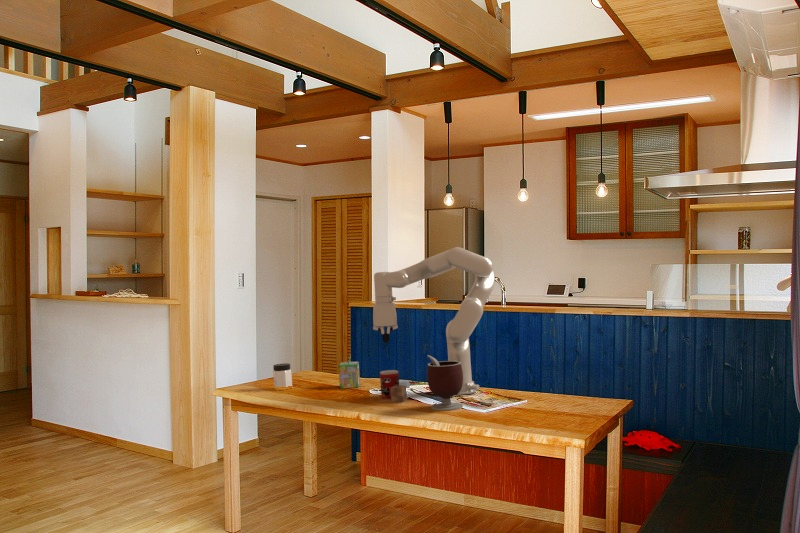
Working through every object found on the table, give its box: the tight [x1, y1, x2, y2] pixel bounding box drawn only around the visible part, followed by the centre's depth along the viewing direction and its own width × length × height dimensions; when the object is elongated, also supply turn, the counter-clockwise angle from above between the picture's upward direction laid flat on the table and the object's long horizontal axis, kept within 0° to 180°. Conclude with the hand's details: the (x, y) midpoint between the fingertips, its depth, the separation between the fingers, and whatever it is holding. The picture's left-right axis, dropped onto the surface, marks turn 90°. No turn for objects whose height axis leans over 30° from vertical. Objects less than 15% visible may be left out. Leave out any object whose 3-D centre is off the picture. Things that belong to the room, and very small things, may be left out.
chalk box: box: [338, 355, 361, 390], centre depth 321 cm, size 9×9×15 cm
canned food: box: [379, 369, 400, 400], centre depth 289 cm, size 8×8×11 cm
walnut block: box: [390, 386, 408, 403], centre depth 279 cm, size 5×5×6 cm
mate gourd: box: [426, 354, 464, 412], centre depth 260 cm, size 16×14×20 cm
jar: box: [272, 362, 293, 387], centre depth 328 cm, size 9×8×12 cm
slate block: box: [399, 379, 411, 388], centre depth 299 cm, size 6×6×5 cm
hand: (386, 342), depth 289 cm, fingers closed
